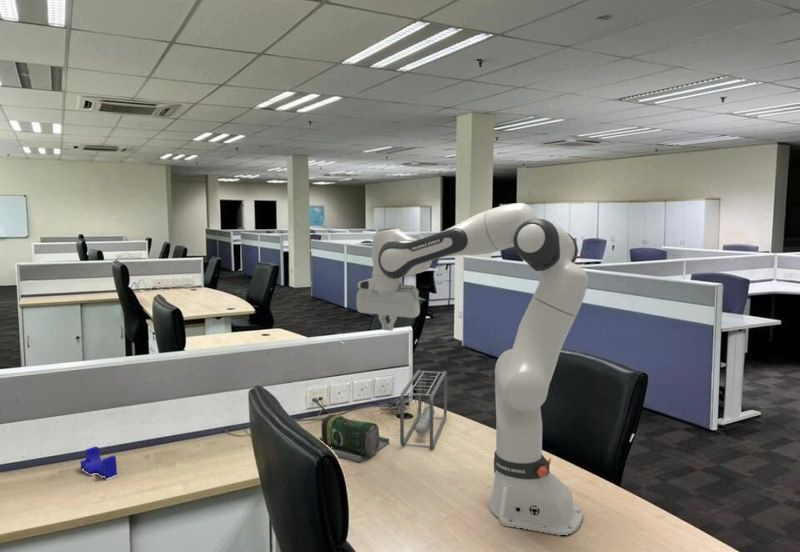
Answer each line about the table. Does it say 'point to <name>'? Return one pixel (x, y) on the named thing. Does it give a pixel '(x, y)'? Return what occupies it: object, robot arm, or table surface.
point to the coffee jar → (350, 435)
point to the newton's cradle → (427, 412)
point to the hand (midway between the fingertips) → (387, 329)
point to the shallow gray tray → (355, 456)
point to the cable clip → (99, 463)
